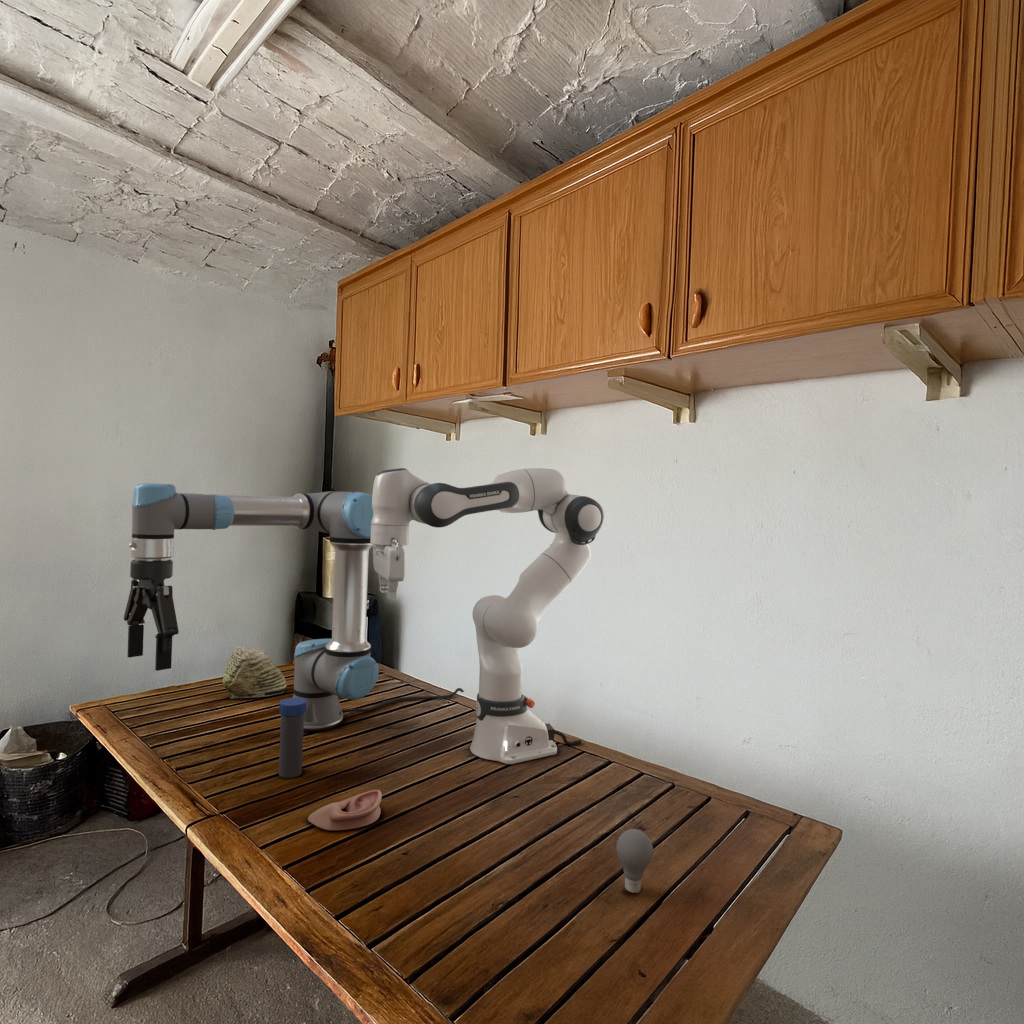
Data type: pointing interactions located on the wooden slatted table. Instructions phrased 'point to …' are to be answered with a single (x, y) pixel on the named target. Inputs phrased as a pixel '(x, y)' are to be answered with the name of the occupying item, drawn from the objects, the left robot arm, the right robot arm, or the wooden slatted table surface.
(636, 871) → the light bulb
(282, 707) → the lid
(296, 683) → the left robot arm
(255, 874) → the wooden slatted table surface
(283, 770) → the grey bottle
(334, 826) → the anatomical model
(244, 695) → the fossil
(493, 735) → the right robot arm
